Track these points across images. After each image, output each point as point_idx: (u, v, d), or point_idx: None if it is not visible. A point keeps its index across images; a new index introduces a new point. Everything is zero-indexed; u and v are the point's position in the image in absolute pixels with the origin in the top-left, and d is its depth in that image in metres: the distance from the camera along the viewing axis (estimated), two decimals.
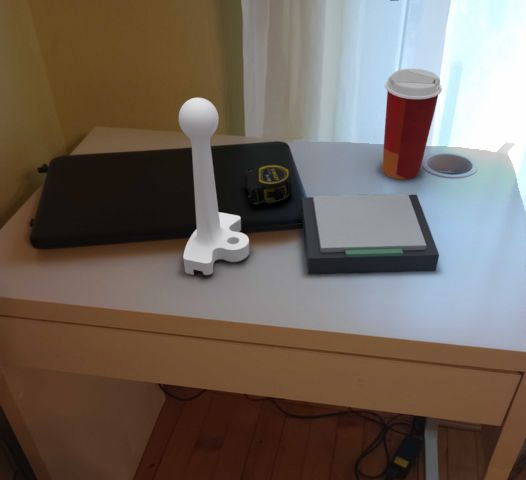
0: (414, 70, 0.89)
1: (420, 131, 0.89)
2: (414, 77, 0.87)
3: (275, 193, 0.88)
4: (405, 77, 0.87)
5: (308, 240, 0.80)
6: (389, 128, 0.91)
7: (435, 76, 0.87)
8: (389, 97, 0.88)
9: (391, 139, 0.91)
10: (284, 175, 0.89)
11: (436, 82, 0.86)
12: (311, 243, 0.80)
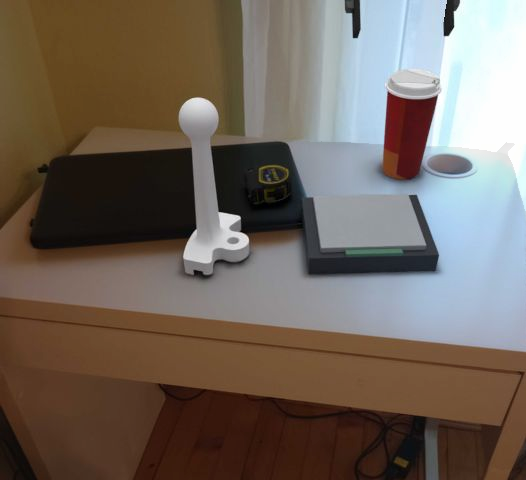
0: (414, 70, 0.89)
1: (420, 131, 0.89)
2: (414, 77, 0.87)
3: (275, 193, 0.88)
4: (405, 77, 0.87)
5: (308, 240, 0.80)
6: (389, 128, 0.91)
7: (435, 76, 0.87)
8: (389, 97, 0.88)
9: (391, 139, 0.91)
10: (284, 175, 0.89)
11: (436, 82, 0.86)
12: (311, 243, 0.80)
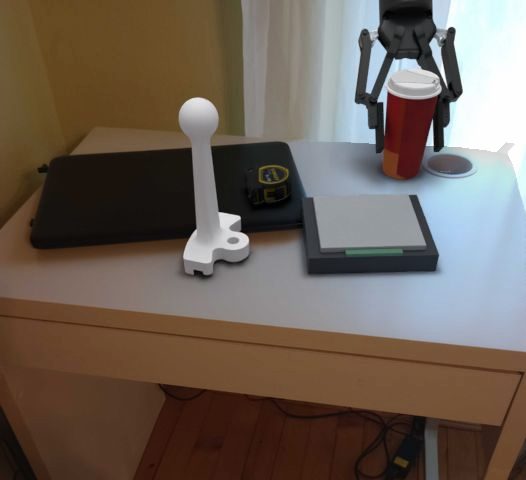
0: (414, 70, 0.89)
1: (420, 131, 0.89)
2: (414, 77, 0.87)
3: (275, 193, 0.88)
4: (405, 77, 0.87)
5: (308, 240, 0.80)
6: (389, 128, 0.91)
7: (435, 76, 0.87)
8: (389, 97, 0.88)
9: (391, 139, 0.91)
10: (284, 175, 0.89)
11: (436, 82, 0.86)
12: (311, 243, 0.80)
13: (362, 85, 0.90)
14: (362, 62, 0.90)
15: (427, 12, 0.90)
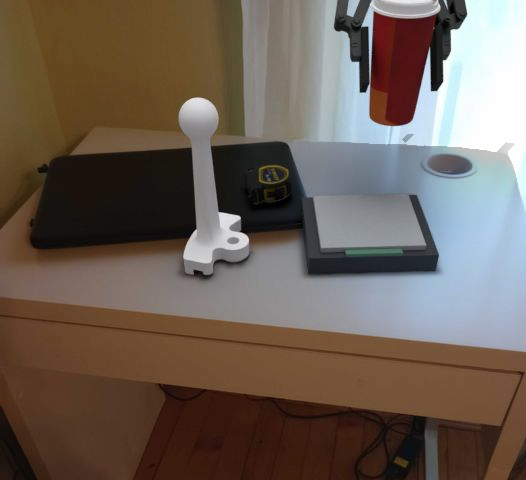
0: None
1: (413, 62, 0.72)
2: None
3: (275, 193, 0.88)
4: None
5: (308, 240, 0.80)
6: (376, 59, 0.73)
7: None
8: (375, 19, 0.71)
9: (378, 74, 0.74)
10: (284, 175, 0.89)
11: None
12: (311, 243, 0.80)
13: (342, 5, 0.73)
14: None
15: None
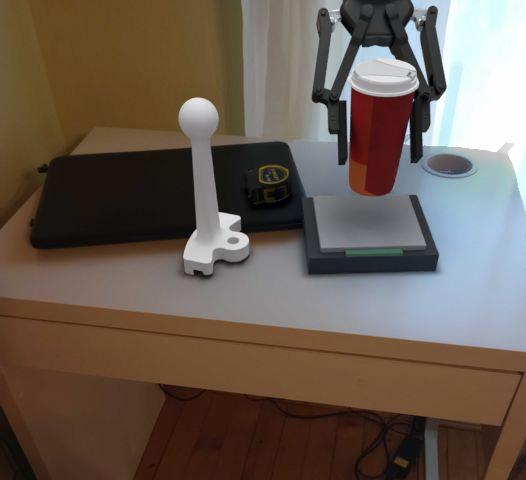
0: (385, 60, 0.70)
1: (392, 137, 0.71)
2: (384, 69, 0.69)
3: (275, 193, 0.88)
4: (373, 68, 0.69)
5: (308, 240, 0.80)
6: (354, 133, 0.72)
7: (411, 67, 0.69)
8: (353, 94, 0.69)
9: (356, 147, 0.73)
10: (284, 175, 0.89)
11: (412, 75, 0.67)
12: (311, 243, 0.80)
13: (319, 79, 0.71)
14: (320, 50, 0.71)
15: None
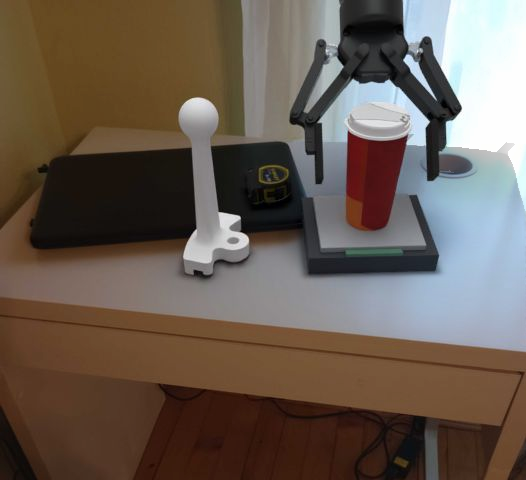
0: (380, 103, 0.74)
1: (387, 177, 0.74)
2: (379, 113, 0.72)
3: (275, 193, 0.88)
4: (368, 112, 0.72)
5: (308, 240, 0.80)
6: (350, 172, 0.76)
7: (404, 111, 0.72)
8: (349, 136, 0.73)
9: (353, 185, 0.76)
10: (284, 175, 0.89)
11: (405, 119, 0.71)
12: (311, 243, 0.80)
13: (299, 103, 0.74)
14: (307, 77, 0.74)
15: (397, 27, 0.74)
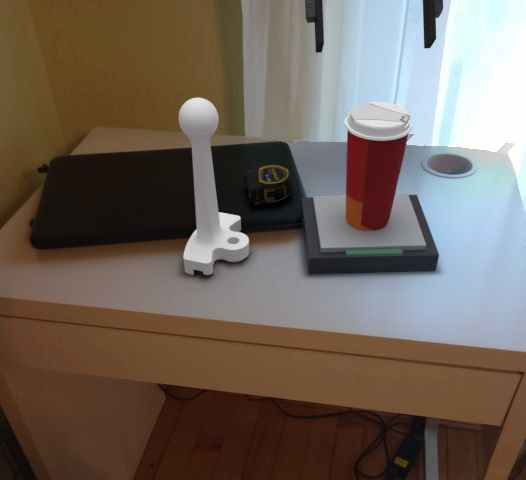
0: (380, 103, 0.74)
1: (387, 177, 0.74)
2: (379, 113, 0.72)
3: (275, 193, 0.88)
4: (368, 112, 0.72)
5: (308, 240, 0.80)
6: (350, 172, 0.76)
7: (404, 111, 0.72)
8: (349, 136, 0.73)
9: (353, 185, 0.76)
10: (284, 175, 0.89)
11: (405, 119, 0.71)
12: (311, 243, 0.80)
13: None
14: None
15: None
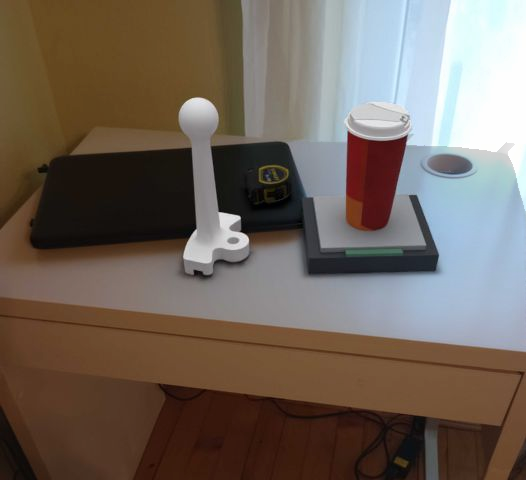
0: (380, 103, 0.74)
1: (387, 177, 0.74)
2: (379, 113, 0.72)
3: (275, 193, 0.88)
4: (368, 112, 0.72)
5: (308, 240, 0.80)
6: (350, 172, 0.76)
7: (404, 111, 0.72)
8: (349, 136, 0.73)
9: (353, 185, 0.76)
10: (284, 175, 0.89)
11: (405, 119, 0.71)
12: (311, 243, 0.80)
13: None
14: None
15: None
